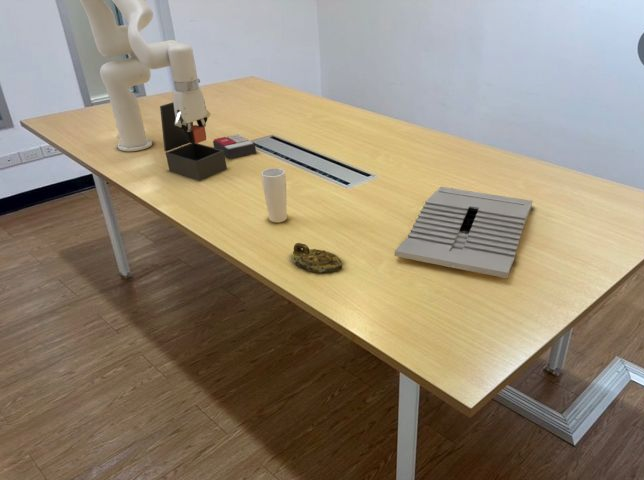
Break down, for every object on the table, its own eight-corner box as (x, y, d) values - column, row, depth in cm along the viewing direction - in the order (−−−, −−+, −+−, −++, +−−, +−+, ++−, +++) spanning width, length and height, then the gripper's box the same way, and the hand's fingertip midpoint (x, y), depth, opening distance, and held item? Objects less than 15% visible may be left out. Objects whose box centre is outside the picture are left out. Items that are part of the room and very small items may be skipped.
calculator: (238, 133, 218) (254, 141, 208) (240, 143, 220) (256, 153, 210) (212, 138, 213) (227, 147, 202) (214, 149, 215) (229, 159, 205)
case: (227, 168, 197) (224, 150, 194) (199, 180, 189) (196, 161, 185) (196, 159, 204) (193, 142, 201) (169, 171, 196) (165, 152, 192)
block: (187, 141, 189) (184, 128, 186) (197, 137, 192) (195, 124, 189) (196, 143, 187) (193, 130, 184) (206, 140, 190) (204, 127, 187)
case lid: (191, 97, 190) (189, 97, 190) (161, 106, 181) (159, 106, 182) (194, 141, 200) (192, 140, 201) (165, 151, 191) (164, 150, 192)
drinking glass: (267, 214, 168) (262, 167, 159) (290, 213, 168) (285, 167, 160) (265, 225, 162) (260, 177, 154) (289, 224, 163) (284, 176, 154)
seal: (350, 264, 146) (301, 251, 151) (351, 248, 144) (301, 235, 149) (333, 278, 138) (282, 264, 144) (334, 261, 136) (282, 247, 141)
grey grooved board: (437, 193, 180) (438, 181, 178) (528, 206, 172) (530, 193, 170) (398, 262, 145) (399, 248, 142) (511, 281, 137) (513, 267, 135)
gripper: (198, 78, 187) (207, 131, 197) (157, 89, 175) (169, 145, 185) (214, 81, 183) (222, 135, 193) (173, 93, 172) (184, 149, 182)
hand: (196, 139), depth 189 cm, fingers closed on block, 4 cm apart
